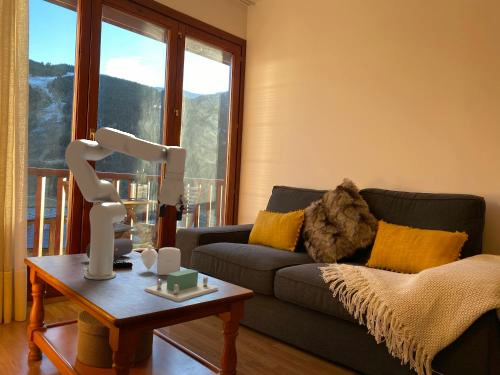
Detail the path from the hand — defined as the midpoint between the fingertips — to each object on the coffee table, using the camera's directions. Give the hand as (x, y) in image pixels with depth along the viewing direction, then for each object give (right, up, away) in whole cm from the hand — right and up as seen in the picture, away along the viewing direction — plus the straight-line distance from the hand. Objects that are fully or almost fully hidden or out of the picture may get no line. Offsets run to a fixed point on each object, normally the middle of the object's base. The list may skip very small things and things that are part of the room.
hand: (170, 218), depth 164 cm
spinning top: (-14, -26, +21) cm, 37 cm away
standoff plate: (+6, -28, -5) cm, 29 cm away
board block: (+6, -27, -5) cm, 28 cm away
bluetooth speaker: (-39, -24, +41) cm, 62 cm away
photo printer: (-4, -27, +18) cm, 33 cm away
